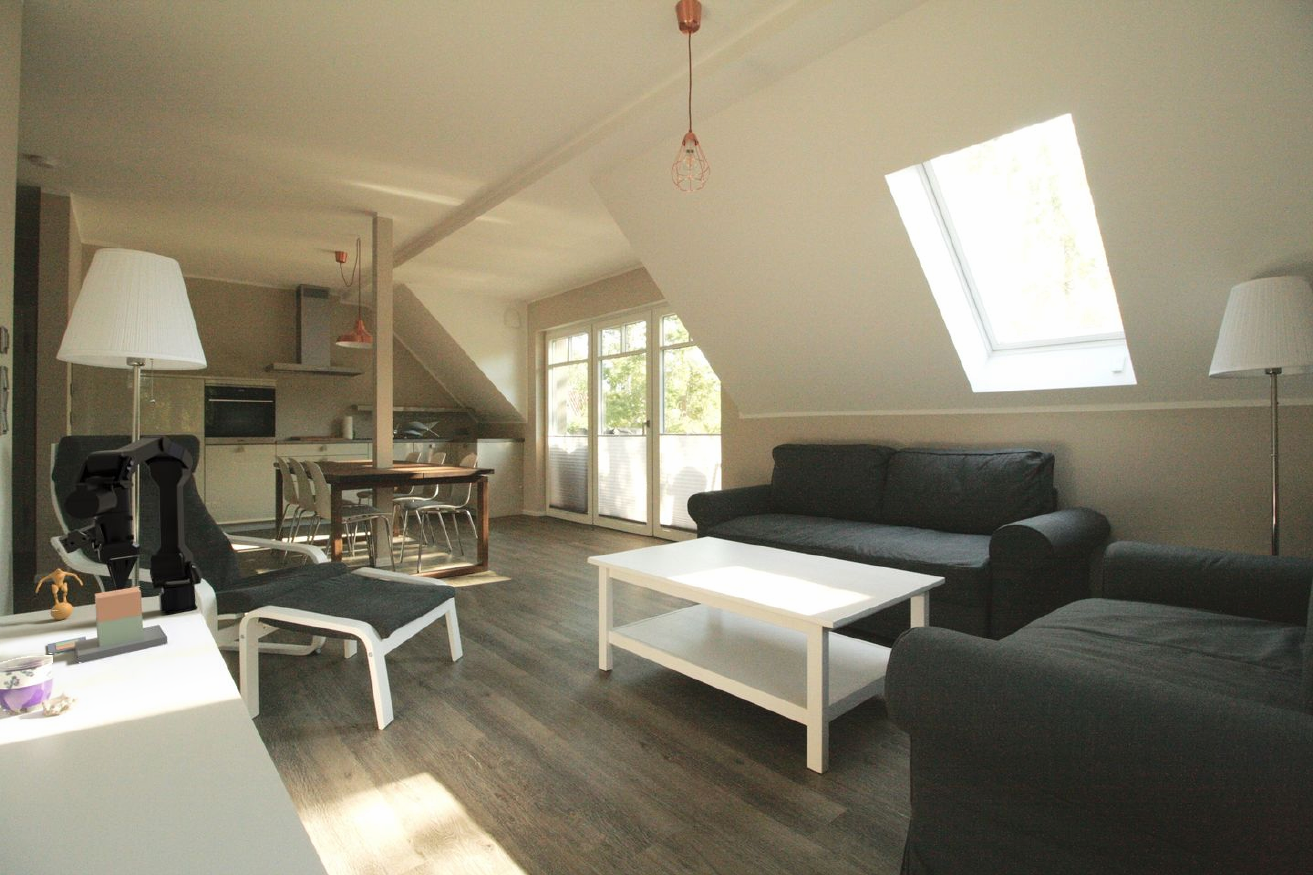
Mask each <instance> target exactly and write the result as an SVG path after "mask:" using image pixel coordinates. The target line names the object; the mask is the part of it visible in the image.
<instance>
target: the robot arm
mask: <svg viewBox="0 0 1313 875" xmlns="http://www.w3.org/2000/svg"><path fill="white" fill-rule="evenodd" d="M140 464H144V465H145V467H146V468H148V470H149V477H150V479H151V480H152V482H154V483H155V485H156V487H158V507H159V508H158V510H159V511H158V512H159V513H158V515H159V548H158V549H157V551H156V552H155V554H152V555H151V557H150V568H149V569H150V570H149V576H150V579H151V583H152V586H153V589H154V590H156V589H161V592H159V593H158V601H159V610H160V611H161V612H162V613H163V614H164V615H172V614H177V613H181V612H187V611H192V610H197V609H198V605H197V604H196V603H197V602H196V588H195V587H196V585H199V584H201V583H202V578H203V576H202V575H203V572H202V571H201V570H200V568H199V567H198V565H197V563H196V562H195V561H194V553H193V552H192V550H190V548H189V547H188V546H187V544H186V542H185V512H184V510H185V509H184V508H185V507H184V485H185V484H186V482H187V481H188V480H189V478H190V477H191V475H192V474H191V473H192V467H193V465H194V459H193V456H192V454H191V453H190V452H189V451H188V449H187V448H186V447H184V446H182V445H180V444H178V443H176V442H174V441H172V440H171V439H170V438H169V437H168V436H165V435H144V436H142V437H140V438H139V439H138V440H135V441H133V442H131V443H129V444H127V445H124V446H122V447H120V448H118V449H111V450H109V449H108V450H99V451H92V452H89V454H88V455H87V457H86V458H85V459H84V462H83V464H82V466H81V470H80V472H79V474H78V477H77V479H76V482H75V490H74V491H73V492H71V493H70V494H68V496H66V499H65V501H64V502H63V503H64V509H65V510H64V511H66V513H67V514H68V515H69V516H70V517H71V518H73V519H78V520H87V519H91V518H92V524H90V525H87V526H85V527H82V528H79V529H77V528H76V529H74V530H73V531H67V533H65V534H64V535H61V536H60V537H58V541H59V543H60V544H61V546H62V547H63V550H64V551H65V552H66V554H72V553H75V552H77V550H79V549H81V548H84V547H87V546H90V545H91V546H92V549H93V551H94V553H95V554H97V556H98V559H99V562H100V563H102V564H103V565H106V567H107V570H108V574H109V576H110V577H109V578H110V579H111V582H112V583H114V585H115V588H116V590H121V589H125V588H126V586H127V585H126V584H127V582H128V580H129V578H130V576H131V574H132V571H133V569H134V567H135V564H136V562H137V561H138V558H139V556H140V555H141V545H140V544H139V543H138V542H137V541H134V540H135V536H134V534H133V524H132V522H133V520H134V516H133V514H132V505H131V488H132V487H134V483H133V482H132V481H131V478H132V476H133V475H134V474H135V473H136V472H137V471H138V466H139V465H140Z"/></svg>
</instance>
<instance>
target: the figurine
mask: <svg viewBox="0 0 1313 875" xmlns="http://www.w3.org/2000/svg"><path fill="white" fill-rule="evenodd" d="M65 576H70V577H74V579H76V580H77V581H78V582H79V584H80V586H83V585H84V583H83V581H82V580H81V579H80V578H79V576H77V574H76V573H71V572H68V571H63V570H62V569H61V568H56V570H55V571H54V572H52V573H50V574H48V575H47V576H45V577H42V578H41V579H39V580H40V581H39V583H38V584H37V587H36V589H35V593H36V594H37V593H39V591H40V589H39V588H40V587H41V585H42V584H43V582H44V581H46V580H49V579H52V580H53V582H54V584H51V589H52V593H53V598H55V600H54V601H55V604H54V605H53V606H52V608H51V609H50V616H51V617H52V618H53V619H55V620H58V621H59V620H61V621H62V620H65V619H67V618H69V617H70V616H71V615H72V614H73V612H74V607H73V605H72V604H71V603H69V602H68V601H67V598H66V596H67V595H68V584H67V582H64V579H65ZM59 589H61V591H62V592H63V594H62V600H63V601H62V602H60V601H59V598H58V596H59V595H58V594H57V593H58V592H59ZM52 610H58V611H52Z"/></svg>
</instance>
